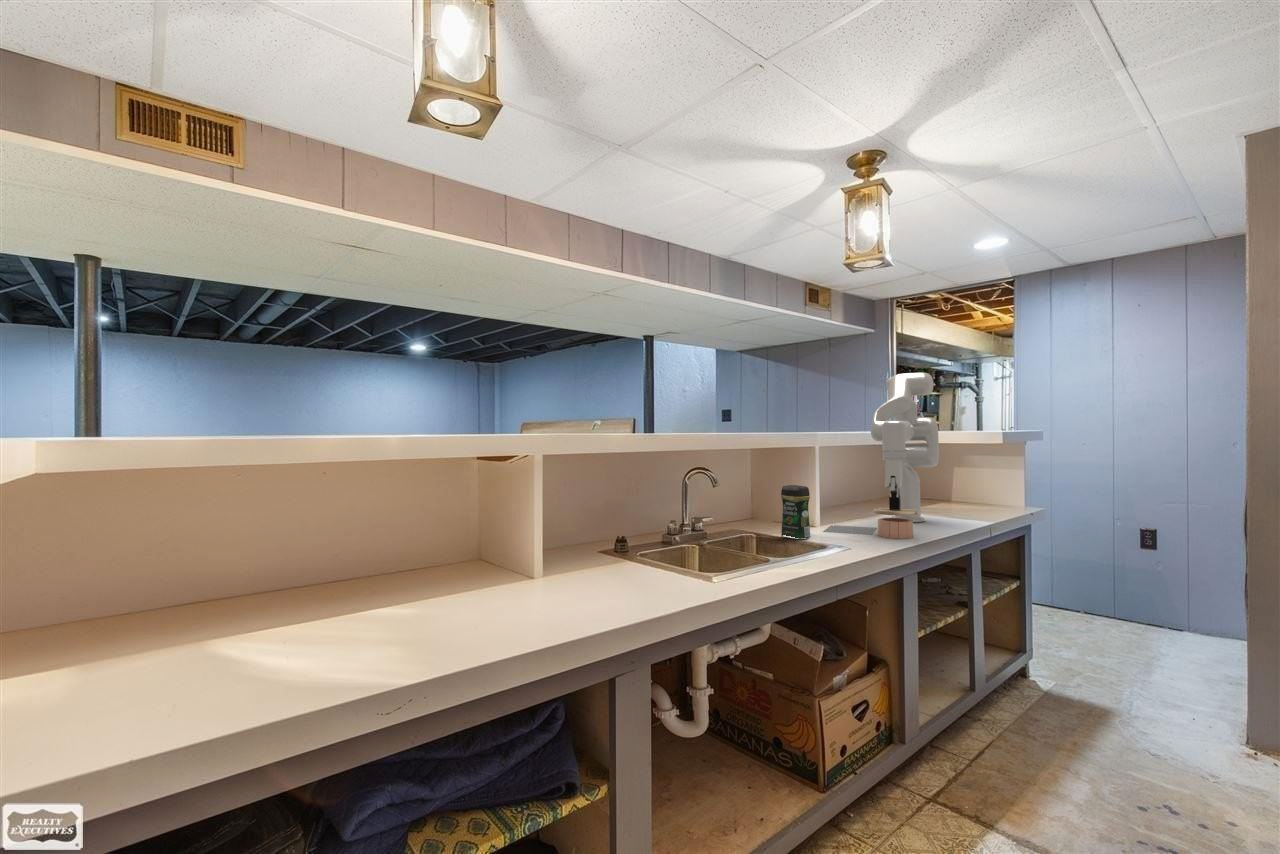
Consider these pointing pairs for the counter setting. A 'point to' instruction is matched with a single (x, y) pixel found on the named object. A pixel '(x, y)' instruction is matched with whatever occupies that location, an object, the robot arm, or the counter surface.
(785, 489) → the coffee jar
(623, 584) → the counter surface
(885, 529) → the terracotta bowl
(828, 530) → the rubber mat
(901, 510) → the oak lid
